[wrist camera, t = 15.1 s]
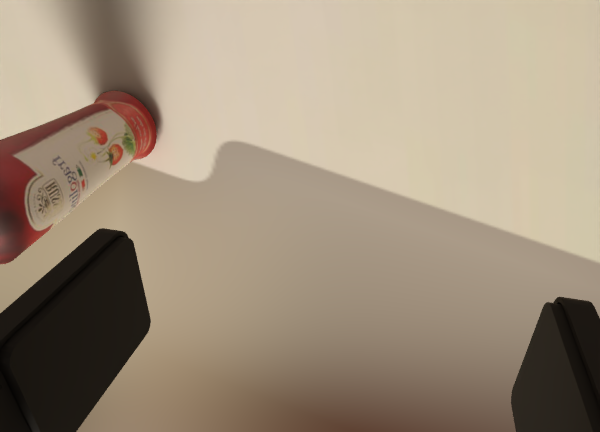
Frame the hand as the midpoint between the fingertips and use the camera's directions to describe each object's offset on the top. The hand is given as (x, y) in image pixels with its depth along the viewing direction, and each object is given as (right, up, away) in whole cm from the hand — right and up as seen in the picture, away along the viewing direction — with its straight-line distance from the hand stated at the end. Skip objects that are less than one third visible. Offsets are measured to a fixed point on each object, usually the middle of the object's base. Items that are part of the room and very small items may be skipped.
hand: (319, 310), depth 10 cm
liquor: (-17, +12, +35) cm, 40 cm away
